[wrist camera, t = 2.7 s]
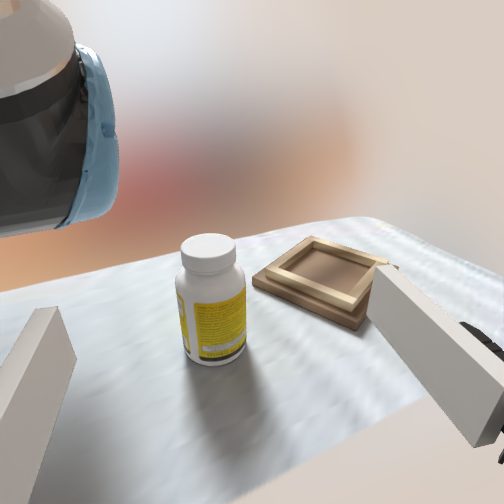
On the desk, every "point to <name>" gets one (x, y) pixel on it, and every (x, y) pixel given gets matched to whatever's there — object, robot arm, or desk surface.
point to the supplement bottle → (211, 299)
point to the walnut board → (323, 279)
